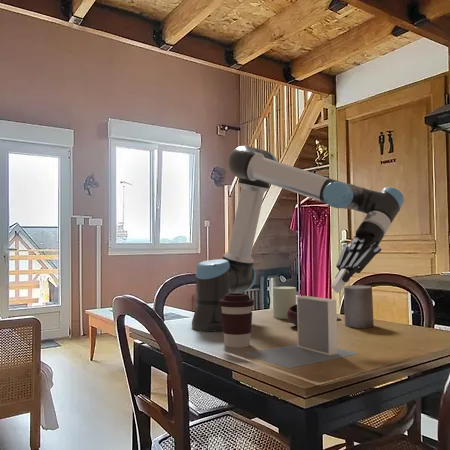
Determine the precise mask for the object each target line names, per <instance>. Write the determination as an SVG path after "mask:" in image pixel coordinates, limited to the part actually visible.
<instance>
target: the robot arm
mask: <svg viewBox="0 0 450 450" xmlns="http://www.w3.org/2000/svg"><path fill="white" fill-rule="evenodd" d="M227 162H228V163H227V164H228V168H229V171H230V172H231V173H232V175H234V176H235V177H236V178H238V181H237V184H238V186H239V187H240V193H239V197H238V202H237V206H236V212H235V217H234V222H233V227H232V232H231V236H230V241H229V247H228V250H227V252H225V253H223V255H222V258H220V259H218V258H217V259H211V260H210V259H209V260H208V259H207V260H204V261H201V262H199V263H198V264H197V265H196V270H195V271H196V272H195V279H196V280H195V281H196V282H195V285H196V307H195V311H194V314H193V316H192V321H191V329H193V330H195V331H201V332H219V331H220V332H221V331H222V332H223V330H222V318H221V312H222V308H221V306H220V305H219V300H220V299H223V298H224V295H225V294H229V293H244V292H246V291H248V290H250V289H251V288H253V286H254V284H255V282H256V279H257V271H256V270H255V267H254V259H253V257H252V252H253V249H254V248H253V247H254V244H255V243H254V242H255V237H256V232H257V228H258V223H259V218H260V215H261V214H260V213H261V209H262V204H263V199H264V194H265V193H266V192H267V191H269V190H270V187H271V185H272V186H274V187H275V186H276V187H278V188H281V189H284V190H286V191H290V192H293V193H295V194H298V195H301V196H304V197H307V198H310V199H312V200H315V201H318V202H321V203H324V204H326V205H328V206H330V207H332V208H334V209H335V208H336V209H344V210H353V211H355V212H356V211H357V212H359V213H363V214H365V217H364V218H363V220H362V222H361V223H360V225H359V226H358V227H357V229H356V231H355V238H354V239H352V240H351V242H350V243H348V244H347V243H343V244H342V249H341V252H340V254H339V257H338V260H337V262H336V265H335V267H336V268H337V270H338V272H337V273H336V276H334V281H333V282H332V284H331V285H330V287H331V288H332V289H333V291H334V292H335V293H338V294H340V293H341V292H342V290H344V286H346V284H347V283H348V282H350V279H351V277H352V276H353V275H355V274H356V273H357V274H360V273H361V272H362V271H363V270H364V269H365V267H367V265H368V264H369V263H371V262H372V260H373V259H374V258H375V257H376V255H378V254H379V253H381V251H382V249H381V247H380V246H379V244H380V243H381V242H382V240H383V238H384V236H385V235H386V234H387V232H388V230H389V228H390V227H391V224H392V222H394V220H395V218H396V217H397V215H398V213H400V211H401V208H402V206H403V205H404V202H405V197H404V195H403V193H402V191H400V190H399V189H398V188H396V187H392V186H390V187H384V188H383V189H382V190H381V191H380V192H379V191H376V190H372V189H368V188H365V187H362V186H358V185H355V184H352V183H345V182H342V181H339V180H335V179H334V178H329V177H326V176H323V175H320V174H317V173H314V172H311V171H308V170H305V169H302V168H298V167H296V166H292V165H289V164H286V163H283V162H279V161H278V160H277V158H276V156H275V155H274V154H272V153H271V152H269V151H267V150H265V149H260V148H256V147H252V146H249V145H240V146H238V147H236V148H235V149H233V150H232V151H231V153H230V154H229V157H228V159H227Z"/></svg>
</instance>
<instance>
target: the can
mask: <svg viewBox="0 0 450 450" xmlns="http://www.w3.org/2000/svg"><path fill="white" fill-rule="evenodd" d="M272 291H273V292H272V296H273V297H272V298H273V303H272V305H273V315H272V316H273V318H274V319H279V320H289V319H288V317H287V312H288V309H289V308H290V307H291V306H293V305H296V304H297V287H294V286H273V287H272Z"/></svg>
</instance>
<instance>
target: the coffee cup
mask: <svg viewBox="0 0 450 450" xmlns="http://www.w3.org/2000/svg"><path fill="white" fill-rule="evenodd" d="M219 305H220V306H221V308H222V312H221V318H222V330H223V331H222V333H223V344H224V345H223V346H225V347H227V348H235V349H237V348H245V347H246V348H247V347H249V346H250V345H251V333H252V325H253V324H252V323H253V311H252V310H253V309H252V307H253V306H254V305H255V300H254V299H253V298H250V296H249V294H248V293H244V292H242V293H229V294H225V295H224V298H223V299H220V300H219Z"/></svg>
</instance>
